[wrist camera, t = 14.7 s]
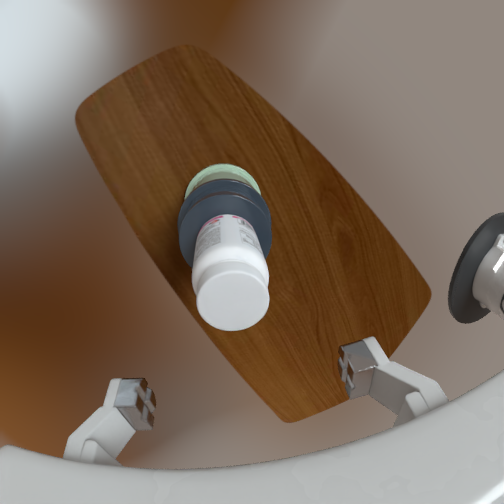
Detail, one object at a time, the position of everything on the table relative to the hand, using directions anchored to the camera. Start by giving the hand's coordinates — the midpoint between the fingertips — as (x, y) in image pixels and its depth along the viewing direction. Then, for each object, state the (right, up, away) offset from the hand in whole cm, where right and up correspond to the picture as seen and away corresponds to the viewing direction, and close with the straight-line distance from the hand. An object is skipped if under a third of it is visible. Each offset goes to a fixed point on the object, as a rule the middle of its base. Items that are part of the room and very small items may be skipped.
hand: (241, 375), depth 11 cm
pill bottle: (-2, +6, +12) cm, 14 cm away
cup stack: (-3, +11, +23) cm, 26 cm away
